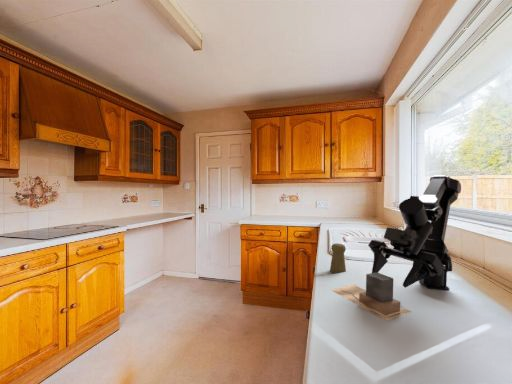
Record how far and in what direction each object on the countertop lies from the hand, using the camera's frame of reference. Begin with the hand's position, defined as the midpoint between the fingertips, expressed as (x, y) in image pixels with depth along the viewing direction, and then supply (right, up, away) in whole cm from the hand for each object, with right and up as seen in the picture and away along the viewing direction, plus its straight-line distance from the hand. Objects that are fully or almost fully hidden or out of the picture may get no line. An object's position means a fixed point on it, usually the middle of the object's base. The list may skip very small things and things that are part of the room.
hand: (387, 280), depth 67 cm
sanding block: (-3, -7, -1) cm, 8 cm away
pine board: (-4, -8, +3) cm, 9 cm away
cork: (-4, -7, +29) cm, 30 cm away
